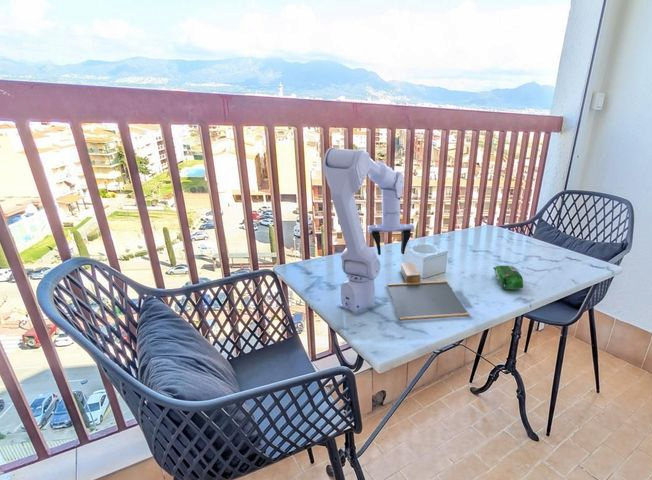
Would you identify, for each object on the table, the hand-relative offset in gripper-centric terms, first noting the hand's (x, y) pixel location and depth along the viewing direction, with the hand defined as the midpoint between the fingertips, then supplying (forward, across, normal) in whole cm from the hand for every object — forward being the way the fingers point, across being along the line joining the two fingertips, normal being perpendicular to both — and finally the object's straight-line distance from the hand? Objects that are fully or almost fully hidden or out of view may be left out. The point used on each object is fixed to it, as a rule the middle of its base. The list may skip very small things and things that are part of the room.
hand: (390, 253), depth 129 cm
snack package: (+11, -39, +6) cm, 41 cm away
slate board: (+10, -8, +16) cm, 21 cm away
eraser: (+10, -7, -4) cm, 13 cm away
